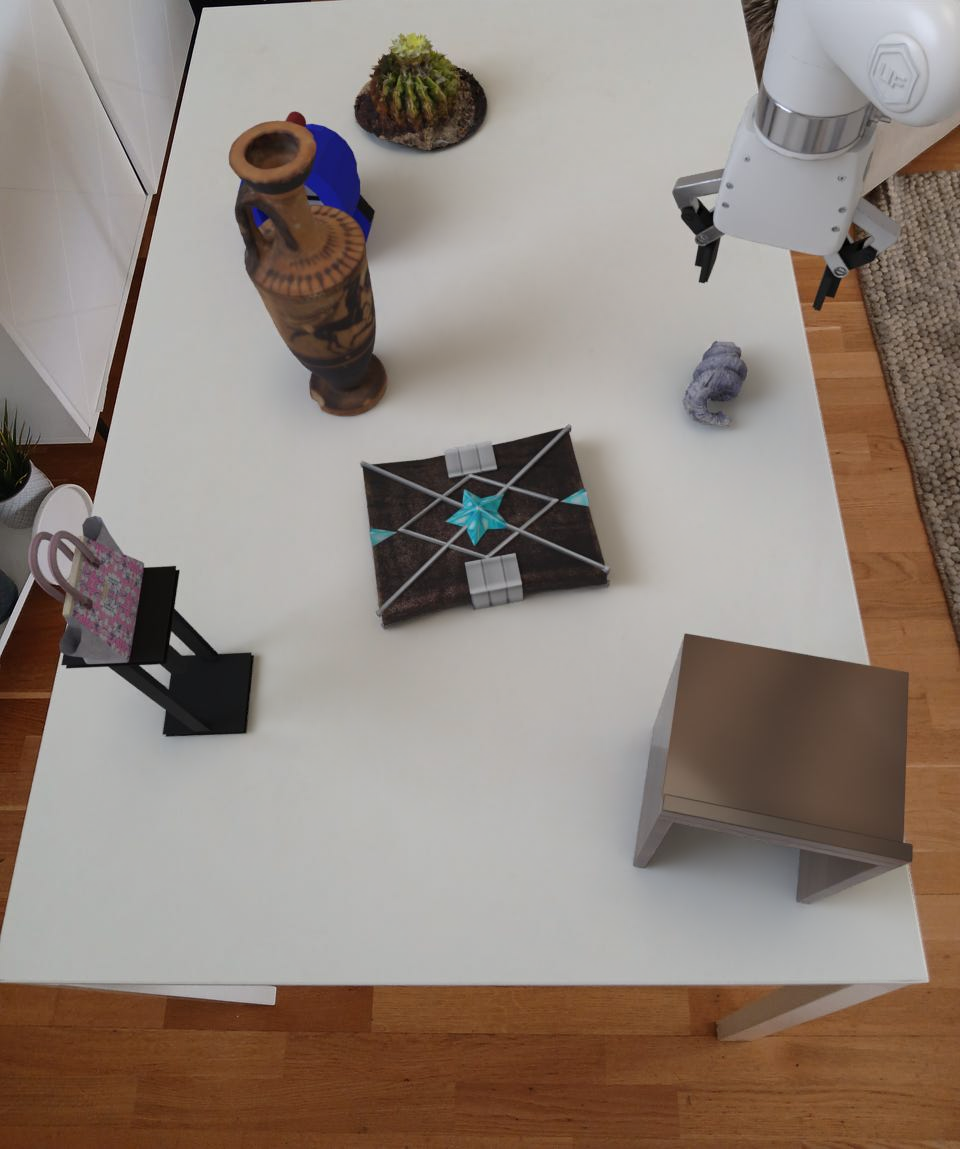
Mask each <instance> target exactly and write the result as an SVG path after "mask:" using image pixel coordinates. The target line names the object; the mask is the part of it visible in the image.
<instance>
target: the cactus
mask: <svg viewBox="0 0 960 1149" xmlns="http://www.w3.org/2000/svg"><path fill="white" fill-rule="evenodd" d="M397 37H398V38H396V39H394V40H393V39H390V41H391V45H390V46H389V47H388V50H389V53H387V54H384V53H382V54H381V56H380V57H381V58H380V57H378V60H377V61H376V62H377V64H375V65H371V68H370V70H373V73H369V74H367V76H368V77H369V78H370V80H368V81H367V82H366V83H365V84H364V86H363V87H362V88H361V89H360V91H359V92H358V94H357V95H356V97H355V100H354V105H353V108H354V117H355V120H356V122H357V123H358V125H359V126H360V127H361V128H362V129H363V130H365V132H367V133H369V134H373V135H374V136H376V138H378V139H381V140H385V141H390V142H392V143H396V144H397V145H398V144H401V145H403V146H404V145H408V146H409V147H410V148H413V147H415V146H416V147H417V149H421V150H424V151H427V150H428V151H431V150H433V149H436V148H440V147H447V146H449V145H451V144H455V143H459V142H460V141H461V140H462V139H464V138H469V137H471V136H472V135H473V134H474V133H475V132H476V130H477V128H478V127H479V126H480V125H481V124H482V123H483V120H484V119H485V117H486V114H487V110H488V99H487V96H486V93H485V90H484V88H483V86H482V85H481V84H480V82H479V80H477V79H476V78H475V76H474V73H470V71H467V70H466V69H465V68H464V67H463V68H461V67H458V65H455V64H453V63H452V60H449V58H446V56H447V55H448V54H444V53H441V52H438V50H437V49H436V50H433V47H434V45H433V44H431V43H432V40H428V38H427V35H426V34H424V35H422V33H420V34H419V35H417V34H416V33H415V32H411V33H410V34H408V33H405V35H404V34H403V33H402V32H401V33H399V35H397Z"/></svg>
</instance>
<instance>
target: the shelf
mask: <svg viewBox="0 0 960 1149" xmlns="http://www.w3.org/2000/svg"><path fill="white" fill-rule="evenodd" d="M909 683H910V672H909V671H903V670H898V669H891V668H885V667H880V666H874V665H869V664H864V663H863V664H862V663H857V662H853V661H845V660H841V659H835V658H828V657H823V656H816V655H811V654H806V653H800V652H794V651H788V650H783V649H778V648H773V647H766V646H760V645H754V644H749V643H744V642H743V643H742V642H738V641H733V640H725V639H720V638H716V637H715V638H714V637H708V636H703V635H697V634H691V633H684V635H683V638H682V641H681V644H680V646H679V649H678V652H677V656H676V658H675V662H674V664H673V668H672V670H671V672H670V676H669V679H668V683H667V685H666V688H665V691H664V694H663V697H662V700H661V703H660V706H659V709H658V712H657V715H656V718H655V721H654V723H653V726H652V733H651V740H650V747H649V753H648V760H647V768H646V772H645V773H646V775H645V780H644V788H643V795H642V800H641V808H640V813H639V814H640V815H639V821H638V828H637V833H636V841H635V848H634V849H635V850H634V855H633V860H632V866H633V867H635V868H639V869H646V867H647V865H648V864H649V862H650V861H651V859H652V858H653V856H654V854H655V853H656V851H657V849H658V847H659V846H660V844H661V842H662V841H663V840H664V837H665V836H666V835H667V833H668V831H669V829H670V828H671V826H672V825H673V823H674V824H675V823H676V824H680V825H685V826H690V827H694V828H699V829H703V830H709V831H714V832H718V833H723V834H729V835H733V836H738V837H742V838H747V839H752V840H758V841H761V842H765V843H766V842H767V843H771V844H776V845H781V846H785V847H789V848H795V849H799V859H798V874H797V885H796V898H795V899H796V900H795V901H796V903H798V904H799V903H800V904H804V905H810V904H813V903H816V902H818V901H820V900H823V899H825V898H827V897H831V896H833V895H834V894H837V893H839V892H842V891H844V890H847V889H850V888H852V887H854V886H857V885H859V884H862V883H864V882H866V881H869V880H871V879H874V878H876V877H879V876H881V875H883V874H885V873H888V872H891V871H894V870H897V869H898V868H901V867H903V866H905V865H908V864H911V863H912V862H913V855H914V854H913V853H914V845H913V844H912V843H908V842H904V840H905V814H906V813H905V810H906V778H907V749H908V745H907V744H908V717H909V716H908V714H909Z"/></svg>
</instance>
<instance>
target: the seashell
mask: <svg viewBox="0 0 960 1149" xmlns="http://www.w3.org/2000/svg"><path fill="white" fill-rule="evenodd" d="M748 372H749V370H748V366H747V363H746V362H745V361H744V360H743V359H742V349H741V347H739V346H738V345H737V344H735V342H734V341H718V340H715V341H713V343H712V344H711V346H710V347H709V348H708V349H707V350H706V351H705V352H704V353H703V355H702V359H701V361H700V362H699V364H698V365H697V366H696V367H695V369H694V371H693V373H692V379H693V380H692V382H691V383H689V386H687V388H686V390H685V393H684V396H683V399H682V402H683V403H682V404H683V407H684V410H686V413H687V415H689V417H690V419H692V421H695V422H698V423H699V424H701V425H714V426H722V427H727V428H729V426H730V425H731V422H732V419H730V418H729V417H728V415H727V414H725V413H723V411H722V410H720V411H717V412H713V411H712V412H710V411H709V408H708V407H709V399H710V401H714V402H719V403H720V402H730V401H732V400H733V399H735V398H737V397H738V396H739V394H740V393H741V390H742V389H743V385H744V381H745V380H746V378H748Z"/></svg>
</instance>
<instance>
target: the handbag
mask: <svg viewBox="0 0 960 1149" xmlns="http://www.w3.org/2000/svg"><path fill="white" fill-rule="evenodd" d="M81 526H82V535H78V536H76V535H74V534H73V533H71V532H69V531H67V530H59V531H57V532H55V533H53V534H52V533H51V532H49V531H40V532H38V533H36V534H35V535H34V536H33V537H32V539H31V541H30V543H29V547H28V553H27V561H28V567H29V570H30V573H31V575H32V577H33V578H34V581H35V582H36V583H37V584H38V585H39V586H40V588H42V590H43V591H45V592H46V593H47V594H48V595H50V596H51V597H53V598H54V599H56V600H57V601H59V602H60V603H62V604H63V609H62V614H61V615H62V617H63V618H64V620H65V621H66V624H67V626H66V628H65V630H64V632H63V635H62V637H61V639H60V641H59V643H58V646H59V652H60V653H61V654H62V659H61V666H65V669H84V668H85V669H86V668H90V669H91V668H109V669H110V670H112V671H113V672H114V673H116V674H117V675H118V676H120V677H121V678H122V679H123V680H125V681H126V682H128V683H129V684H130V685H132V686H133V687H134V688H135V689H137V690H138V691H140V692H141V693H142V694H143V695H144V696H146V697H147V698H149V699H150V700H151V701H153V702H154V703H156V704H157V705H158V706H160V707H161V708H162V709H163V710H165V713H164V721H163V728H162V735H163V736H164V735H165V736H164V737H169V738H171V737H190V736H192V737H193V736H216V735H217V736H218V735H243V734H247V732H248V731H247V730H248V720H249V709H250V698H251V689H252V677H253V667H254V658H255V655H254V654H252V652H230V653H229V652H228V653H218V652H217V651H216V649H214V647H213V646H212V645H211V644H210V643H209V642H208V641H206V639H205V638H204V637H203V636H202V635H201V634H200V633H199V632H198V631H197V630H196V629H195V627H193V626H192V625H191V624H190V622H188V621H187V619H186V618H185V617H184V616H183V615H182V614H180V612H179V611H178V610H177V609H176V608H175V607H176V599H177V592H178V587H179V586H178V585H179V578H180V572H181V571H180V569H177V565H167V566H166V565H165V566H148V567H146V566H145V562H143V561H141V560H139V559H137V558H134V557H132V556H130V555H127V554H125V553H124V552H123V551H122V549H121V548H120V547H119V545H118V543H117V541H115V539H114V538H113V536H112V534H111V533H110V532H109V530H108V528H107V526H106V524H105V522H104V521H103V519H102V517H101V516H97V515H94V516H90V517H86V518H85V520H84V521H83V523H82V524H81ZM63 540H67V541H68V542H70V543H71V544H72V545H73V546H74V551H72V549H71V548H70V547H69V546H68V545H67V544H66V543H64V541H63ZM42 541H48V542H49V543H48V546H47V556H46V557H47V558H46V559H47V566H48V568H49V571H50V574H51V576H52V578H53V579H54V581H55V582H56V583H57V585H58V586H59V587H60V588H61V589H62V590H63V591H64V592H65V594H63V593H62V592H60V591H59V590H58V589H56V588H55V587H54V586H53V585H52V584H51V583H50V582H49V581H48V580H47V579H46V578H45V576H44V575H43V573H42V571H41V569H40V566H39V565H40V564H39V560H38V558H39V557H38V554H39V548H40V545H41V543H42ZM58 550H59V551H60V552H61V553H62V554H63V555H64V556H65V557H66V558H67V559H68V560H69V562H71V567H70V571H69V572H70V573H69V578H68V581H67V580H66V578H65V576H63V574H62V572H61V569H60V567H59V564H58ZM172 634H173V635H175V637H177V639H179V640H180V642H182V643H183V644H184V645H185V646H186V647H187V648H188V649H189V650H190V651H191V652H192V653H193V654H188V655H187V654H186V655H182V654H181V653H180V652H179V651H178V650H177V649H176V648H174V647H173V646H172V644H171V643H170V642H171V636H172ZM155 665H160V666H161V667H162V668H163V669H165V670H166V671H167V672H168V673H169V674H170V677H169V684H168V687H167V686H166V685H165V684H163V683H162V682H161V681H160V680H158V679H157V678H155V677H154V676H153V675H152V674H150V673H149V672H148V671H147V670H146V669H145V668H143V666H155Z"/></svg>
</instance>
